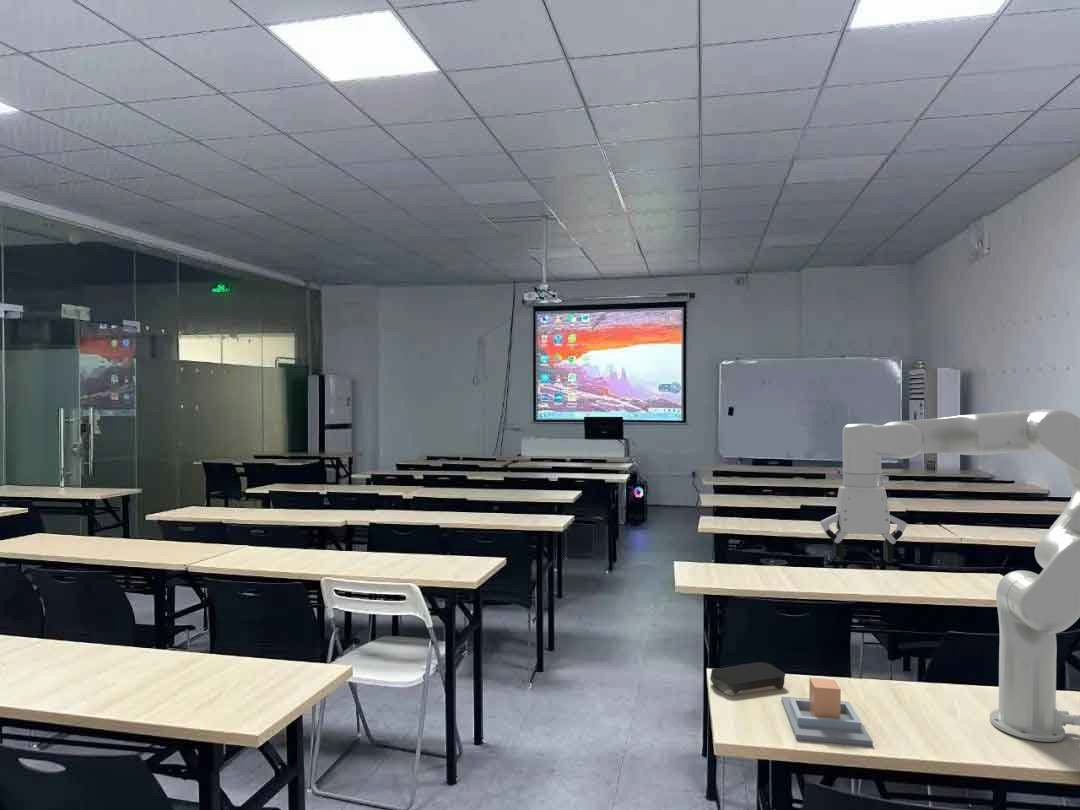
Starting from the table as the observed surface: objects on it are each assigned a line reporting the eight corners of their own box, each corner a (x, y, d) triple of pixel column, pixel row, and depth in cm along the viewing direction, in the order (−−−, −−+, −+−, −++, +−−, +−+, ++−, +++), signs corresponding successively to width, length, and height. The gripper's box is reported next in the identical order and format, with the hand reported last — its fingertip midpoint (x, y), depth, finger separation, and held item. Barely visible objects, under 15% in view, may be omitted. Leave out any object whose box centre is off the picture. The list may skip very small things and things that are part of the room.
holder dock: (848, 706, 153) (848, 694, 153) (872, 746, 135) (872, 733, 135) (781, 701, 155) (781, 689, 155) (796, 739, 138) (796, 726, 138)
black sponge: (765, 676, 170) (765, 660, 170) (788, 689, 162) (788, 673, 162) (706, 684, 165) (706, 669, 165) (727, 699, 157) (727, 682, 157)
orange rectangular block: (834, 713, 147) (834, 679, 147) (840, 723, 142) (840, 689, 142) (809, 711, 148) (809, 677, 148) (814, 721, 143) (814, 687, 143)
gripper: (899, 479, 154) (900, 557, 154) (815, 479, 156) (817, 556, 156) (911, 483, 146) (913, 565, 146) (824, 483, 149) (825, 564, 149)
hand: (863, 560), depth 151 cm, fingers open, 9 cm apart
